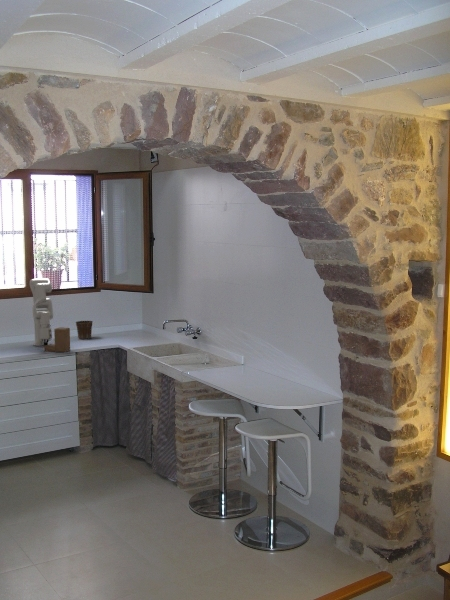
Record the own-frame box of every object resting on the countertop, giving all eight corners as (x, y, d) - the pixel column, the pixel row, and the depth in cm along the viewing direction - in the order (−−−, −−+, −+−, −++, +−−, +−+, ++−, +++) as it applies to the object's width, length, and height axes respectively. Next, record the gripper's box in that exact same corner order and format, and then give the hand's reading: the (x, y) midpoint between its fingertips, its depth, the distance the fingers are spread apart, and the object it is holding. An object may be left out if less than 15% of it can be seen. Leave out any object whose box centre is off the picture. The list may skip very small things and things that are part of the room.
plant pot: (72, 338, 641) (72, 321, 639) (86, 336, 653) (85, 320, 651) (82, 340, 631) (82, 323, 629) (96, 338, 643) (96, 321, 641)
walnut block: (50, 349, 588) (50, 343, 587) (60, 350, 585) (60, 344, 584) (44, 351, 578) (44, 345, 577) (54, 352, 575) (54, 346, 575)
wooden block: (64, 352, 572) (64, 329, 570) (54, 351, 575) (53, 328, 572) (70, 350, 581) (70, 327, 579) (60, 349, 584) (59, 327, 582)
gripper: (55, 325, 583) (55, 346, 585) (40, 324, 588) (41, 345, 590) (50, 327, 576) (50, 348, 578) (35, 326, 581) (36, 347, 583)
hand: (45, 346), depth 584 cm, fingers closed
